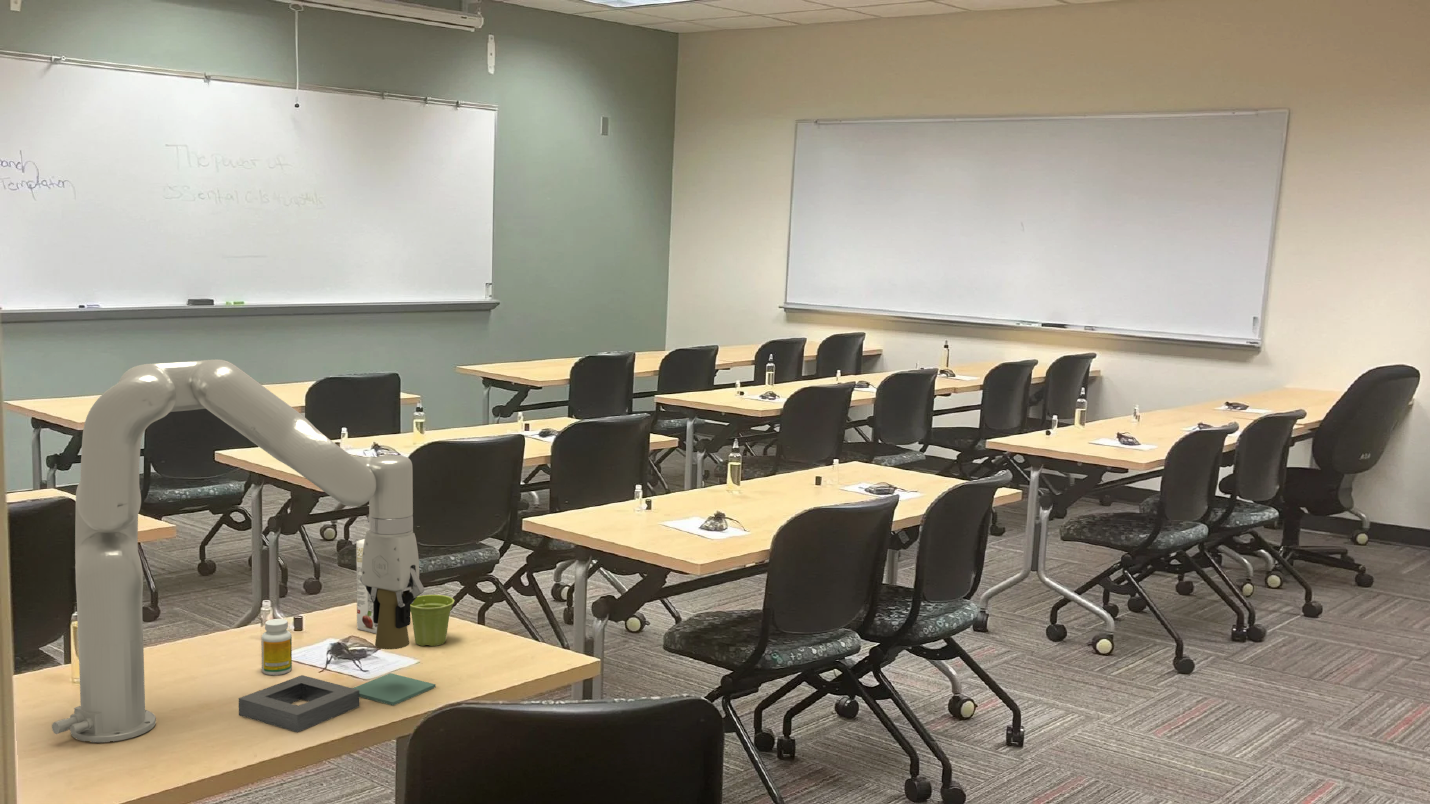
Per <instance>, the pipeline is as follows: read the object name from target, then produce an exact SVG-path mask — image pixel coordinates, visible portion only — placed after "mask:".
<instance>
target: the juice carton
mask: <svg viewBox="0 0 1430 804" xmlns="http://www.w3.org/2000/svg"><path fill="white" fill-rule="evenodd" d="M364 540H365V538H363V539H362V538H361V539H359V540H356V542H355V543H356V544H355V545H356V627H357V630H361V631H364V632H369V633H372V634H376V633H377V625H378V623H377V624H376V623H374V622H373V602H374V601H371V599H370V594H369V593H368V591H367V589H366V587H365V586H364V585H363V584H362V583H361V581H360V577H361V576H362V555H363V546H364Z"/></svg>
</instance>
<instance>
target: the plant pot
mask: <svg viewBox="0 0 1430 804" xmlns="http://www.w3.org/2000/svg"><path fill="white" fill-rule="evenodd" d="M454 604H455V599H454V598H453V597H452V596H449V595H443V594H424V595H422V594H421V595H419V596H417V598H416V599H415V600H414V602H413V603H412V604H410V615H411V620H412V621H411V622H412V627H413V628H412V629H413V637H414V643H415V644H416V645H419V647H420V646H421V647H425V646H430V647H437V646H441V645H443V644H445V642H446V641H447V635H448V629H449V628H448V627H449V621H450V615H451V611H452V608H453V605H454Z"/></svg>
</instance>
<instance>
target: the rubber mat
mask: <svg viewBox="0 0 1430 804" xmlns="http://www.w3.org/2000/svg"><path fill="white" fill-rule="evenodd" d="M434 687H435V688H436V684H435V683H432V682H427V681H425V680H420V679H416V678H412V677H408V676H404V675H399V674H397V673H392V672H390V673H386V674H384V675H383V676H379V677H378V678H377V677H376V678H375V679H372V680H369V681H367V682H365V683H361V684H359V685H356V686H354V687H352V688H353V689H357V690H359V694H360V698H363V699H366V700H369V701H374V702H378V703H381V704H386V705H389V706H395V705H398V704H400V703H403V702H406V701H407V700H409V699H412V698H414V697H417V696H420V695H421V694H423V693H426V692H428V691H430V690H433V689H435V688H434ZM432 688H433V689H432Z"/></svg>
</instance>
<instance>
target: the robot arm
mask: <svg viewBox="0 0 1430 804" xmlns="http://www.w3.org/2000/svg"><path fill="white" fill-rule="evenodd" d="M203 409H206V410H207V411H208V412H210V413H211V414H212V415H214V416H215V417H217V418H218V419H220V420H221V421H222V422H224V423H225V424H227V425H228V426H229V427H231V428H232V429H234V430H235V431H237V432H238V433H239V434H240V435H242V436H244V437H245V438H247V439H248V440H249V441H250V442H252V443H253V444H254V445H256V446H257V447H259V448H260V449H261V450H263V451H265V452H266V453H267V454H269V455H270V456H271V457H272V458H274V459H276V460H277V461H279V463H283V464H284V465H286V466H287V467H289V468H291V469H292V470H294V471H295V472H296V473H298V474H299V475H301V476H302V477H303V478H305V479H306V480H308V481H309V482H310V483H311V484H313V485H314V486H316V487H317V488H319V489H320V490H321V491H323V492H324V493H325V494H327V495H329V496H330V497H331V498H333V499H334V500H335V501H337V502H338V503H340V504H341V505H343V506H347V507H353V508H354V507H356V508H357V507H360V506H363V505H365V504H367V503H368V502H369V504H368V508H369V509H368V511H369V513H368V516H367V517H366V519H367V522H368V524H369V530H367V531H366V533H365V536H364V539H365V540H364V546H363V555H362V576H361V577H360V581H361V583H362V584H363V585H364V586H365V587H366V589H367V591H368V593H369V594H370V599H371V601H374V602H373V622H374V623H376V624H377V623H378V617H379V609H380V603H379V601H378V599H377V591H378V589H384V590H389V591H394V592H396V596H397V601H398V605H399V606H397V607H396V608H395V615H396V628H399V629H400V628H402V627H405V626H407V627H408V626H410V625H411V622H412V621H411V620H412V615H411V612H410V604H412V603H413V602H414V600H415V599H416V598H417V596H421V595H422V593H424V592H425V587H424V585H423V584H422V582H421V580H420V561H419V560H420V559H419V551H418V550H419V549H418V543H417V538H416V535H415V534H416V533H415V532H414V517H413V515H414V514H413V513H414V509H413V508H414V507H413V506H414V504H413V502H414V498H413V496H414V494H413V491H414V490H413V489H414V487H413V481H414V479H413V478H414V477H413V462H412V460H411V459H410V458H409V457H407V456H404V455H398V454H397V455H396V454H395V455H393V454H392V455H391V454H388V455H387V454H386V455H378V456H376V457H373V456H371V457H369V456H358V455H357V456H355V455H351V454H350V453H348V452H347V451H346V450H345V449H343V448H342V447H340V446H339V445H338V444H337V443H335V442H334V441H332V440H331V439H330V438H328V436H326V435H325V434H323V432H321V431H320V430H319V429H317V428H316V427H315V426H314V424H313V423H311V422H310V420H308V418H307V417H305V416H304V415H303V414H301V413H300V412H299V411H298V410H296V409H295V408H294V407H292V406H291V405H289V404H288V403H286V402H285V400H282V398H280V397H279V396H277V395H276V394H274V393H273V392H272V391H271V390H269V389H267V388H266V387H265V386H263V384H261V383H260V382H258V381H257V380H255V378H253V377H251V376H250V375H249V374H248V373H246V372H245V371H244V370H242V369H241V368H239V367H238V366H237V365H235V364H234V363H232V362H230V361H227V360H224V359H214V358H213V359H203V360H202V359H201V360H190V361H178V362H177V361H174V362H161V363H160V362H157V363H145V364H139V365H135V366H133V367H131V368H129V369H127V370H126V371H125V372H124V373H123V374H122V375H121V376H120V378H119V380H118V382H117V383H116V384H114V385H112V386H110V387H109V388H108V389H107V390H105V391H104V392H103V393H102V394H101V395H100V396H98V398H97V399H96V400H95V402H94V403H93V404H92V406H91V408H90V409H89V411H88V414H87V415H86V418H85V421H84V425H83V429H82V439H81V459H80V481H79V482H78V484H77V487H76V491H75V519H74V521H75V524H74V525H75V529H74V530H75V533H74V534H75V535H74V537H75V538H74V539H75V540H74V541H75V543H74V548H75V549H74V552H75V553H74V559H75V562H74V563H75V564H74V565H75V566H74V568H75V591H76V614H77V615H76V617H77V620H76V621H77V642H78V665H79V666H78V667H79V668H78V669H79V693H80V694H79V698H80V701H79V702H80V705H78V706H75V707H74V708H73V710H74V712H73V714H71V715H70V716H69V717H68V718H63V719H60V720H57V721H54V722H52V724H51V730H52V732H53V734H56V735H58V734H61V733H64V732H67V731H70V735H71V737H72V738H74V739H76V740H78V741H81V742H85V741H91V742H90V743H110V741H113V742H119V741H123V740H128V739H132V738H135V737H137V736H140V735H143V734H145V733H148V732H149V731H151V730H152V729H153V728H155V726H156V723H157V722H156V721H157V720H156V719H157V718H156V715H155V714H154V713H153V712H152V711H150V710H148V709H146V695H145V694H146V693H145V691H146V690H145V687H146V686H145V659H144V658H145V657H144V656H145V652H144V626H143V623H144V622H143V587H144V586H143V585H144V582H143V581H144V580H143V579H144V574H143V572H144V571H143V564H142V561H141V557H140V554H139V545H138V544H139V543H138V539H139V537H138V535H139V529H138V528H139V512H140V510H141V506H142V495H141V493H142V492H141V490H140V487H141V486H140V459H141V442H142V438H143V435H144V432H145V431H146V429H147V428H148V427H149V426H150V425H152V424H153V423H154V422H158V420H161V419H163V418H165V417H166V416H167V415H168V414H169V413H171V412H183V411H185V412H186V411H194V410H195V411H197V410H203ZM404 591H405V595H406V596H405V597H404V595H403V592H404Z"/></svg>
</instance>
